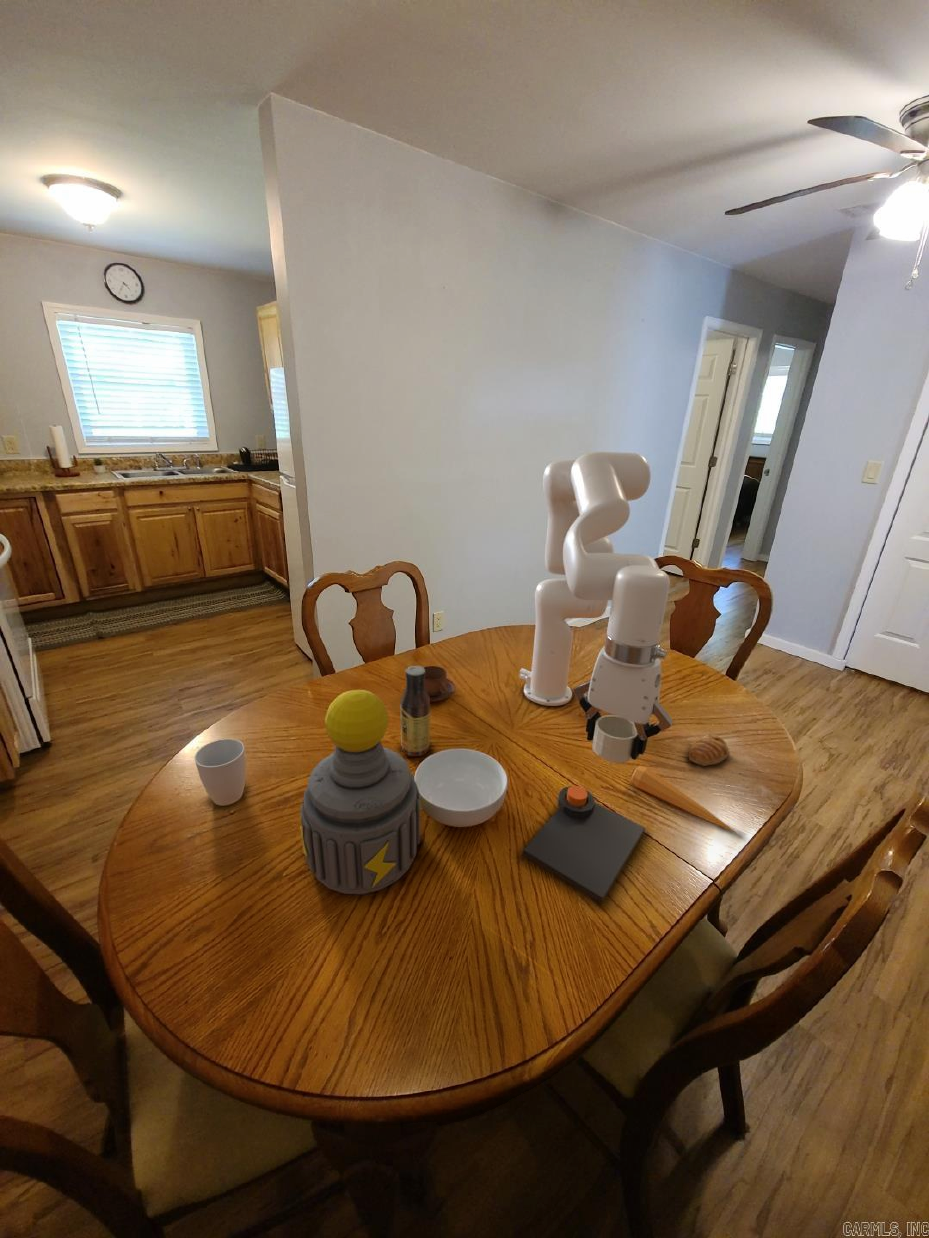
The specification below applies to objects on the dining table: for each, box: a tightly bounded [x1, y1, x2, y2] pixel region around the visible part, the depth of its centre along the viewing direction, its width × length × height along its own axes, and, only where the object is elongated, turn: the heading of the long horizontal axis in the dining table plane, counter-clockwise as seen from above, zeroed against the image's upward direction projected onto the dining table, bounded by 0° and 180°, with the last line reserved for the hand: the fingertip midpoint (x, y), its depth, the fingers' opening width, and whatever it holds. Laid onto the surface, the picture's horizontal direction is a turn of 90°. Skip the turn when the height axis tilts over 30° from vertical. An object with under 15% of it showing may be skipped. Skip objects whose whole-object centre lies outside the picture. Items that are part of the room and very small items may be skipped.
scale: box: [522, 785, 646, 905], centre depth 86 cm, size 15×18×3 cm
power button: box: [566, 785, 588, 807], centre depth 92 cm, size 4×4×2 cm
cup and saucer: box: [423, 665, 456, 703], centre depth 129 cm, size 12×12×6 cm
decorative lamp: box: [299, 689, 423, 895], centre depth 78 cm, size 19×19×30 cm
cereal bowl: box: [413, 748, 509, 828], centre depth 92 cm, size 17×17×7 cm
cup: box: [193, 738, 247, 807], centre depth 92 cm, size 8×8×10 cm
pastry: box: [688, 734, 731, 767], centre depth 109 cm, size 9×7×4 cm
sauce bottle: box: [399, 665, 431, 758], centre depth 105 cm, size 7×6×20 cm
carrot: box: [630, 765, 737, 834], centre depth 95 cm, size 20×4×4 cm, turn 48°
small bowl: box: [591, 714, 638, 764], centre depth 82 cm, size 7×7×4 cm
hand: (613, 745), depth 82 cm, fingers closed on small bowl, 6 cm apart
